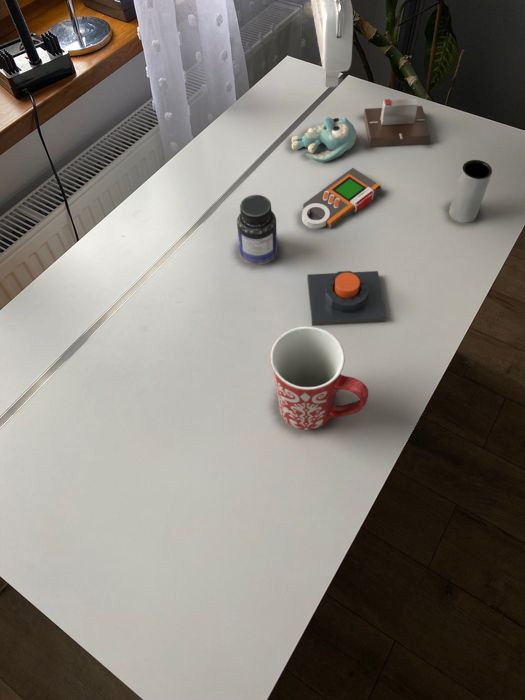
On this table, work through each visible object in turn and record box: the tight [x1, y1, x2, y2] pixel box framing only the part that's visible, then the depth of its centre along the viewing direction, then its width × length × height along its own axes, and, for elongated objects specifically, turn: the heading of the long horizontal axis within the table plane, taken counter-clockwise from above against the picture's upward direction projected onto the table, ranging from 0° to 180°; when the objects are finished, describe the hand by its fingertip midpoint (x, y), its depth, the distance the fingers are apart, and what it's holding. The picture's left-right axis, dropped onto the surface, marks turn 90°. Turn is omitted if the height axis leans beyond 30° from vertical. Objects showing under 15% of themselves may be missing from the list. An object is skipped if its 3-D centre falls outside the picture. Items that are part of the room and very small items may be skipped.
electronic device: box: [301, 167, 382, 230], centre depth 104 cm, size 7×3×15 cm
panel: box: [363, 105, 432, 149], centre depth 114 cm, size 11×10×3 cm
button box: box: [306, 270, 387, 327], centre depth 91 cm, size 11×9×4 cm
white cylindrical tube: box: [448, 159, 493, 224], centre depth 98 cm, size 4×4×10 cm
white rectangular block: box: [381, 98, 419, 125], centre depth 111 cm, size 6×2×4 cm, turn 92°
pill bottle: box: [236, 194, 278, 266], centre depth 95 cm, size 6×6×11 cm
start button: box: [335, 273, 360, 299], centre depth 89 cm, size 4×4×2 cm
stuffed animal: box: [291, 116, 357, 163], centre depth 111 cm, size 11×7×12 cm
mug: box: [269, 326, 369, 431], centre depth 77 cm, size 13×9×14 cm
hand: (327, 64), depth 87 cm, fingers open, 8 cm apart
